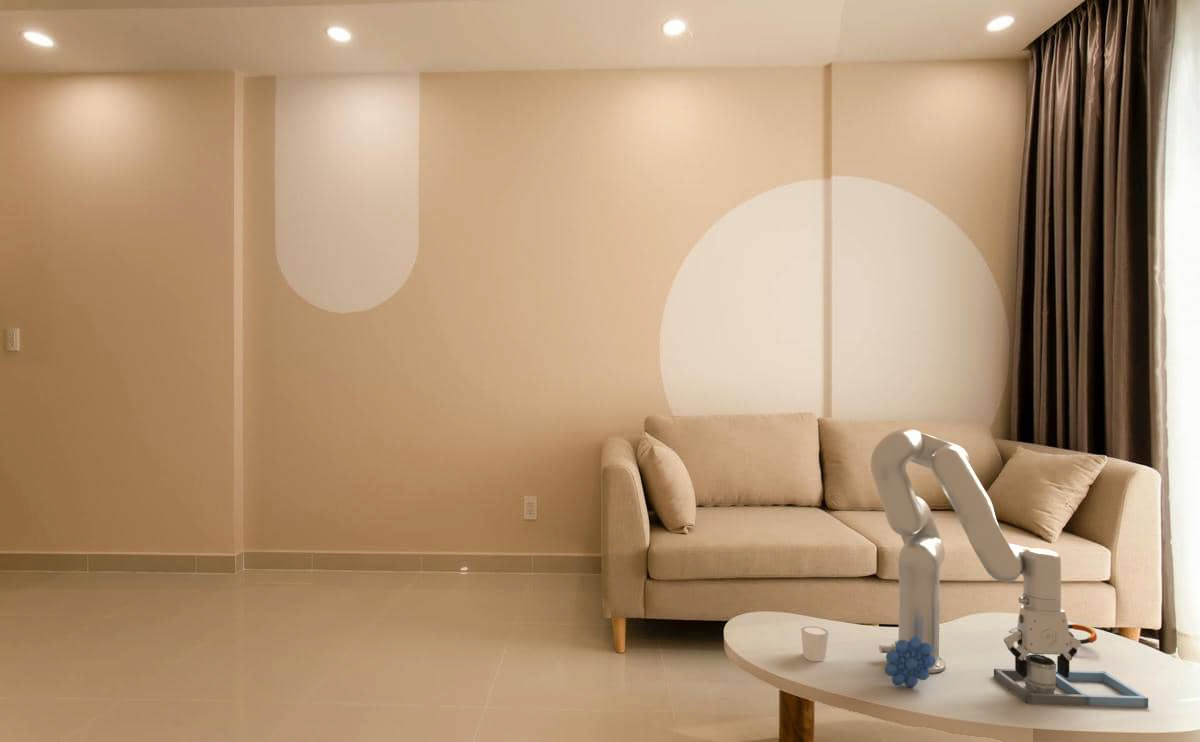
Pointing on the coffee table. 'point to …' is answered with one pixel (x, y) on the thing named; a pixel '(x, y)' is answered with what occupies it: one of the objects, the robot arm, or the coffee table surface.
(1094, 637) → the headphones
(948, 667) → the coffee table surface
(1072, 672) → the organizer
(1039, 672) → the camera lens
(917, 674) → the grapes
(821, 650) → the shot glass
